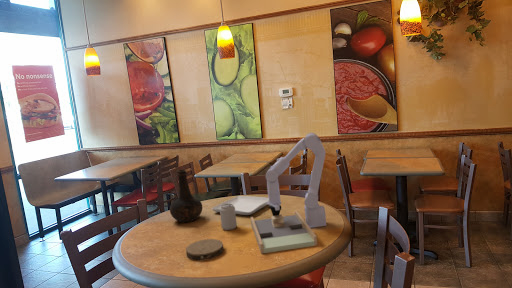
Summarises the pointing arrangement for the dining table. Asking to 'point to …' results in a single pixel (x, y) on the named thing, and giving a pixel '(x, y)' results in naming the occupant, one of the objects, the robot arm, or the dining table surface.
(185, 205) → the glass bottle
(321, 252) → the dining table surface
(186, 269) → the dining table surface
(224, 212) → the can
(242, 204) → the square plate
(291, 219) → the box
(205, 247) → the grey brown round disc
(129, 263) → the dining table surface
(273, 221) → the maple block
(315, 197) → the robot arm
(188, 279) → the dining table surface
